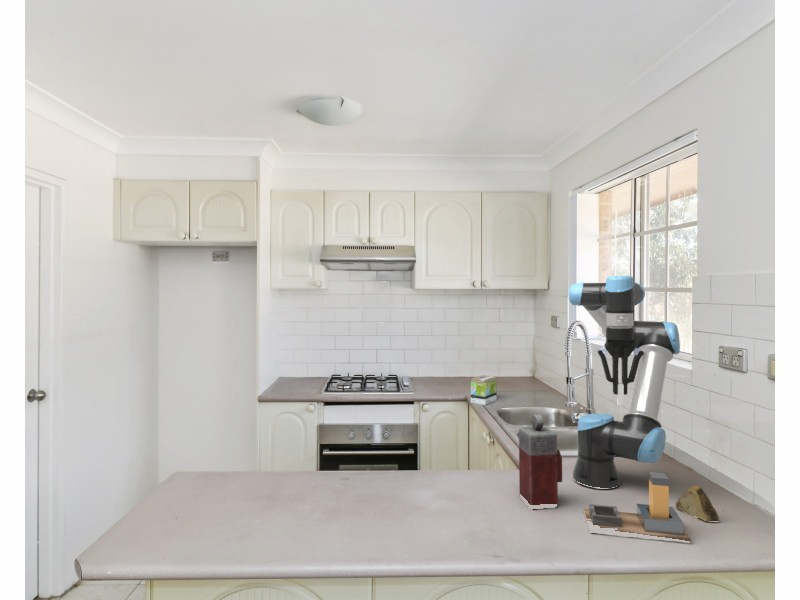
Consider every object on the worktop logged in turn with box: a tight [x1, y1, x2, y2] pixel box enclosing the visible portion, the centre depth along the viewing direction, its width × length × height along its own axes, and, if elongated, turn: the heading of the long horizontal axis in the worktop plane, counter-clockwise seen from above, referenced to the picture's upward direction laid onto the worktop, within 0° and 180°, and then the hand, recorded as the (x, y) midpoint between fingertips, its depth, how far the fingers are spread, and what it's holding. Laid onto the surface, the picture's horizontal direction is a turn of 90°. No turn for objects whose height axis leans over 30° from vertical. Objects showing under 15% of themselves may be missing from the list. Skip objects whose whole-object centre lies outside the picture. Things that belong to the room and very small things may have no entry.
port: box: [636, 503, 684, 536], centre depth 133 cm, size 9×9×4 cm
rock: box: [675, 485, 721, 522], centre depth 141 cm, size 11×9×10 cm
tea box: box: [470, 374, 498, 406], centre depth 283 cm, size 15×10×15 cm
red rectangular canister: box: [518, 414, 563, 505], centre depth 151 cm, size 9×11×28 cm
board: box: [583, 503, 691, 542], centre depth 134 cm, size 12×25×4 cm, turn 76°
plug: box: [648, 471, 670, 518], centre depth 132 cm, size 4×4×14 cm
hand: (620, 405), depth 144 cm, fingers closed
